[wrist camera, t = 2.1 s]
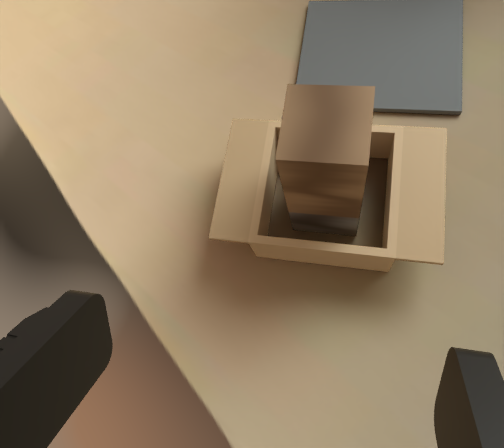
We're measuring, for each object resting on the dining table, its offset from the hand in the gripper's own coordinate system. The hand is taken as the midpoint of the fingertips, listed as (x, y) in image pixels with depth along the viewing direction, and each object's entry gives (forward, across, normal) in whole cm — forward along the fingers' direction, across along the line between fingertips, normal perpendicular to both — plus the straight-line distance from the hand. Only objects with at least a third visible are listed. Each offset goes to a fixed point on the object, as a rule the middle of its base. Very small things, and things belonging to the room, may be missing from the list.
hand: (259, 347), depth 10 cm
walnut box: (+25, 0, +7) cm, 26 cm away
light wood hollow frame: (+25, 0, +7) cm, 26 cm away
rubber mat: (+36, -3, -4) cm, 36 cm away
